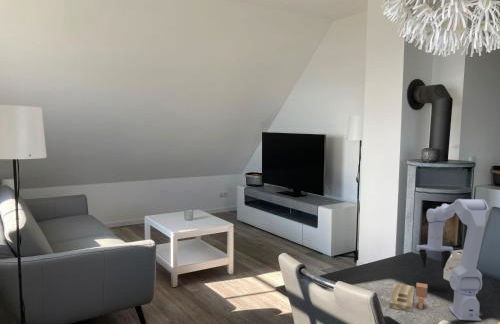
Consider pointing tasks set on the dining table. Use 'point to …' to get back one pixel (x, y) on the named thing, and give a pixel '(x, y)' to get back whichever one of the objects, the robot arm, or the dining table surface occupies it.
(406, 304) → the rail
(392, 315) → the dining table surface
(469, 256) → the robot arm
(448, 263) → the ink cartridge box
